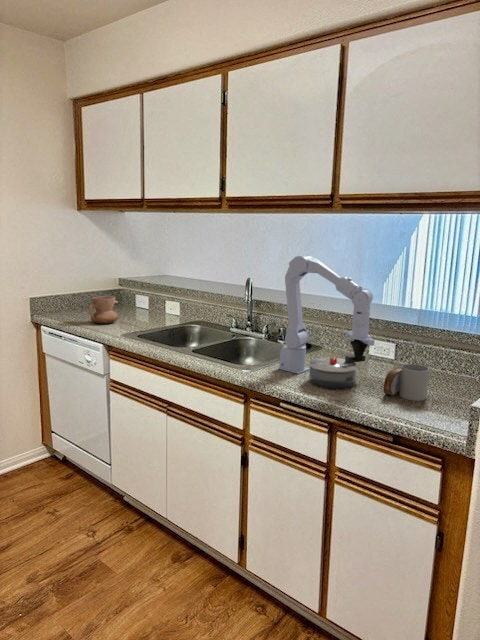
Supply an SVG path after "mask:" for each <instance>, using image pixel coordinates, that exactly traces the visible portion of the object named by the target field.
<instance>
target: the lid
mask: <svg viewBox="0 0 480 640" xmlns="http://www.w3.org/2000/svg"><path fill="white" fill-rule="evenodd" d="M362 362H366V355H364V354H363V356H362V360H361V361H355V355H354V354H350V355H345V358H340V357H333V356H331V357H329V356H327V357H326V356H325V357H316V358H313V359H312V358H311V360H310V361H309V368H310V367H312V368H313V369H316V370H319V371H323V372H329V373H348V372H353V371H355V370H357V368H358V366H357V363H362Z"/></svg>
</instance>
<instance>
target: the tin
mask: <svg viewBox="0 0 480 640" xmlns="http://www.w3.org/2000/svg"><path fill="white" fill-rule="evenodd" d="M401 372H402V366H401V365H398V366H396V367H394V368H392V369H390V370H389V371H388V372H387V374H386V376H385V379H384V382H383V394H385V395H389V396H395V395H397V394H398V393H400V383H401Z"/></svg>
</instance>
